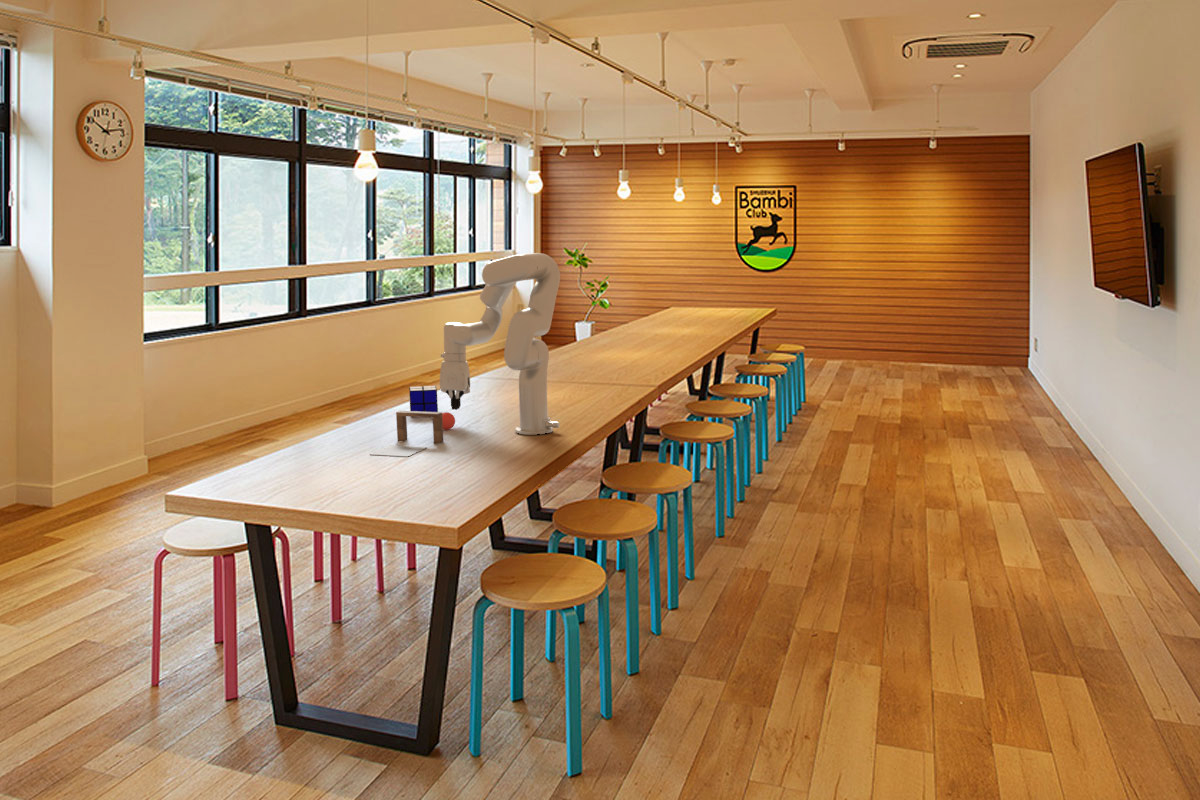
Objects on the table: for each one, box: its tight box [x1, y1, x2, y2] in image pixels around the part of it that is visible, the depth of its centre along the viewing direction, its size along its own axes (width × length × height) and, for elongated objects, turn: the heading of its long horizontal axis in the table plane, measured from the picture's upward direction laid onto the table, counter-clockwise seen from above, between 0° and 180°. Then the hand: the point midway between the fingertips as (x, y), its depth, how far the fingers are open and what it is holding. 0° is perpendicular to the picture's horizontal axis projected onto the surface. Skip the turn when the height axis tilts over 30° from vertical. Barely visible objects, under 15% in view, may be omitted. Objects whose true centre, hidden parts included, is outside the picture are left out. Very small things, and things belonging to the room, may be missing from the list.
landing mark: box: [369, 445, 428, 458], centre depth 315 cm, size 13×13×1 cm
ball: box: [442, 411, 456, 431], centre depth 348 cm, size 6×6×6 cm
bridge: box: [395, 410, 444, 444], centre depth 329 cm, size 3×15×10 cm, turn 73°
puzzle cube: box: [408, 385, 439, 412], centre depth 377 cm, size 10×10×10 cm
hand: (455, 408), depth 357 cm, fingers closed
